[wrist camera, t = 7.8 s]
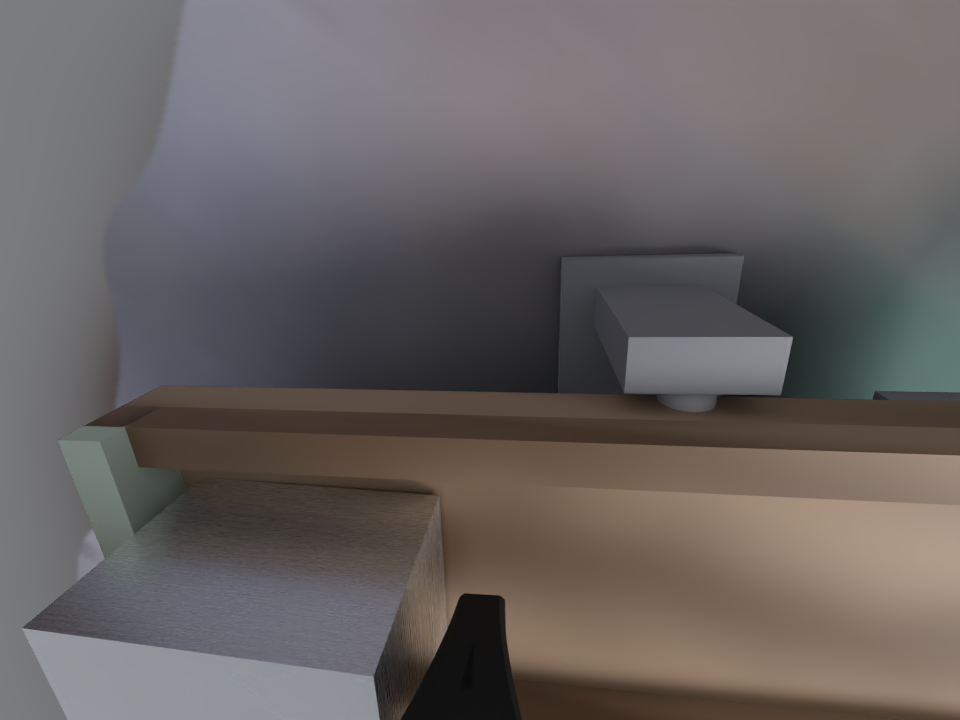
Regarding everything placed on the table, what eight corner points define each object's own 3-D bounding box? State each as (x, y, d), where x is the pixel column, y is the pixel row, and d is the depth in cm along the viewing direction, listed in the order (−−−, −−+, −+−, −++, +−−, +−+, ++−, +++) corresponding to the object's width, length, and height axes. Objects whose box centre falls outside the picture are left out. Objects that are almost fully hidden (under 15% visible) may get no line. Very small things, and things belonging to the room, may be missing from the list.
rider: (448, 651, 12) (401, 867, 8) (243, 625, 13) (112, 810, 9) (439, 495, 11) (372, 676, 7) (202, 477, 11) (21, 628, 7)
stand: (679, 612, 18) (737, 778, 13) (552, 604, 19) (560, 760, 14) (735, 253, 13) (861, 294, 8) (561, 257, 14) (578, 297, 9)
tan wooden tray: (943, 662, 14) (1109, 860, 10) (266, 603, 17) (178, 737, 13) (1079, 358, 10) (1421, 467, 6) (200, 350, 13) (50, 422, 9)
